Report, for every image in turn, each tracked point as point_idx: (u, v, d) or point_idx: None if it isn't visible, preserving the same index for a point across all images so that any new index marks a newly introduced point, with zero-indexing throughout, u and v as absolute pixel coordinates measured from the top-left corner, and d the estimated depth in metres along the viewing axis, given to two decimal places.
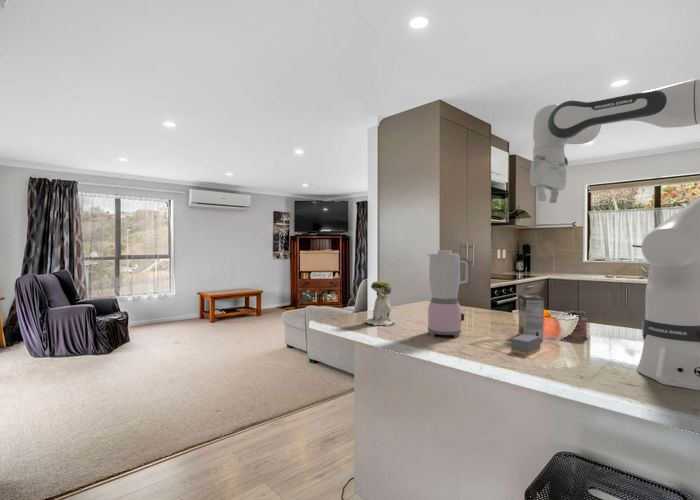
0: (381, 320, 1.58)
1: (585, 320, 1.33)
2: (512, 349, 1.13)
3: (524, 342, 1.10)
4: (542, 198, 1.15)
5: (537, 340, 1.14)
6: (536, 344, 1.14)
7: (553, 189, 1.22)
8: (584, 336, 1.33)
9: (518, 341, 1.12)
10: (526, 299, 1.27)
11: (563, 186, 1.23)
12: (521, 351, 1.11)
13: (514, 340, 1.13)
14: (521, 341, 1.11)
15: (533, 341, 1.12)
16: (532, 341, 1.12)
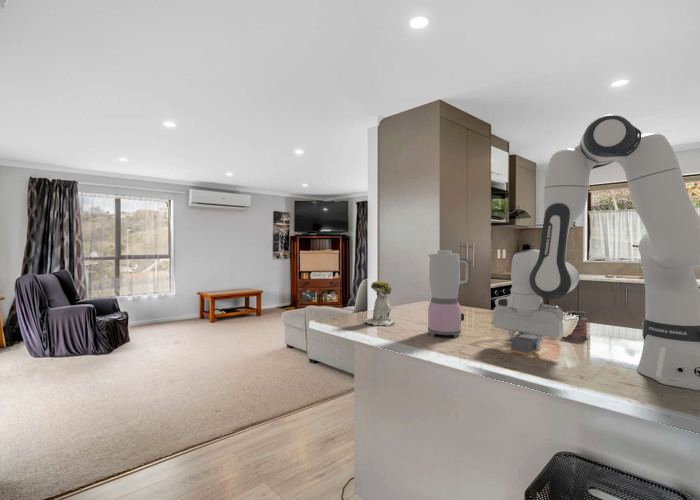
0: (381, 320, 1.58)
1: (585, 320, 1.33)
2: (512, 349, 1.13)
3: (524, 342, 1.10)
4: (539, 347, 1.12)
5: (537, 340, 1.14)
6: None
7: None
8: (584, 336, 1.33)
9: (518, 341, 1.12)
10: None
11: None
12: (521, 351, 1.11)
13: (514, 340, 1.13)
14: (521, 341, 1.11)
15: (533, 341, 1.12)
16: (532, 341, 1.12)
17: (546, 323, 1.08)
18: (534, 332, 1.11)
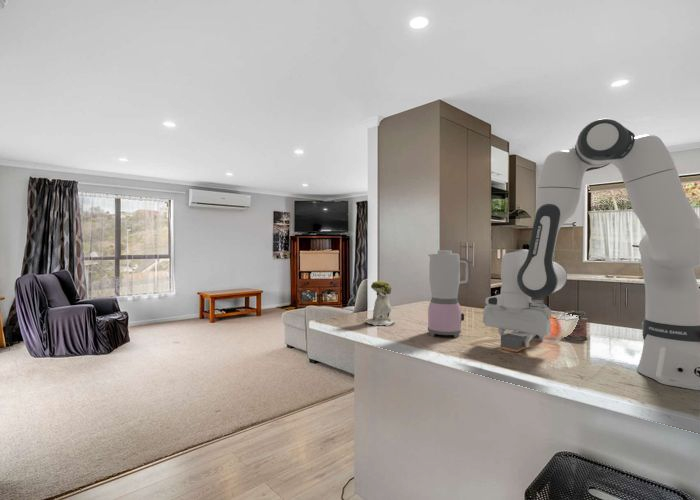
0: (381, 320, 1.58)
1: (585, 320, 1.33)
2: (501, 346, 1.16)
3: (513, 339, 1.13)
4: (528, 344, 1.14)
5: (526, 337, 1.17)
6: None
7: None
8: (584, 336, 1.33)
9: (507, 338, 1.14)
10: None
11: None
12: (510, 348, 1.14)
13: (503, 337, 1.15)
14: (510, 338, 1.14)
15: (522, 338, 1.15)
16: (521, 338, 1.14)
17: (534, 321, 1.11)
18: (523, 330, 1.13)
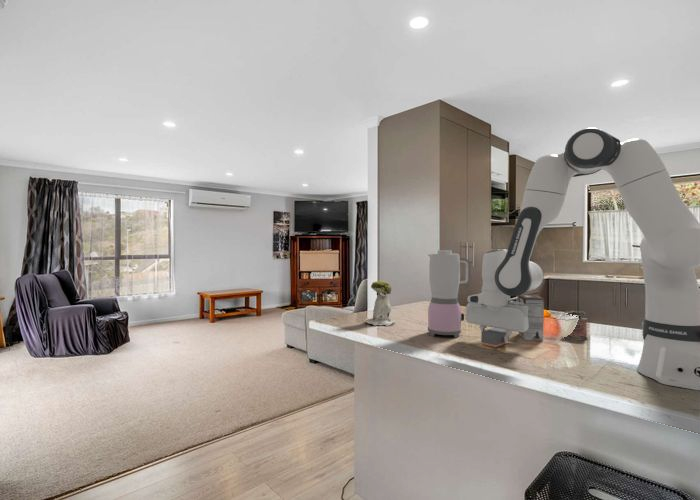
0: (381, 320, 1.58)
1: (585, 320, 1.33)
2: (482, 342, 1.21)
3: (493, 335, 1.18)
4: (507, 341, 1.19)
5: None
6: None
7: None
8: (584, 336, 1.33)
9: (487, 334, 1.19)
10: (526, 299, 1.27)
11: None
12: (490, 343, 1.18)
13: (484, 333, 1.20)
14: (490, 334, 1.18)
15: (501, 334, 1.20)
16: (500, 334, 1.19)
17: (512, 318, 1.16)
18: (502, 327, 1.18)
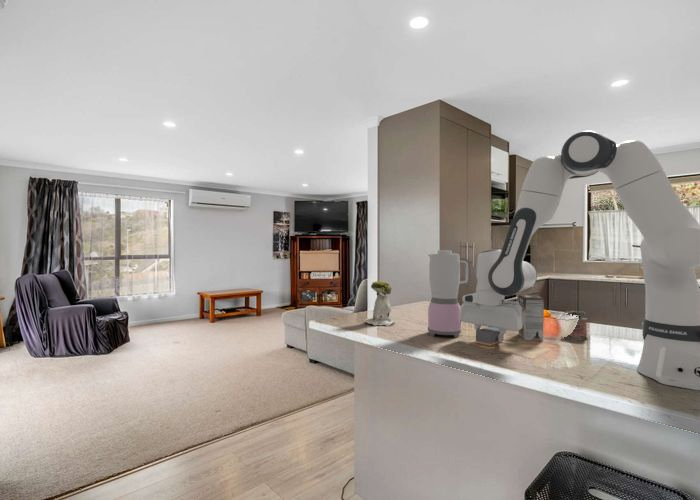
0: (381, 320, 1.58)
1: (585, 320, 1.33)
2: (476, 340, 1.22)
3: (487, 334, 1.19)
4: (501, 340, 1.21)
5: (500, 332, 1.23)
6: None
7: (479, 324, 1.26)
8: (584, 336, 1.33)
9: (482, 333, 1.21)
10: (526, 299, 1.27)
11: None
12: (484, 342, 1.20)
13: (478, 332, 1.22)
14: (484, 333, 1.20)
15: (496, 333, 1.21)
16: (494, 333, 1.21)
17: (506, 318, 1.17)
18: (496, 326, 1.20)
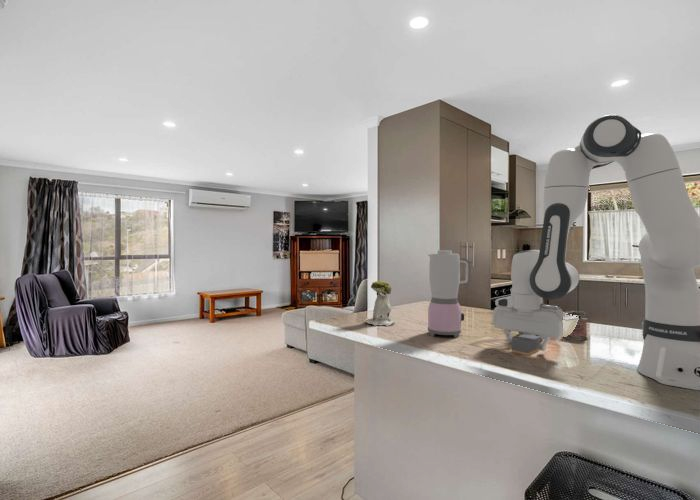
0: (381, 320, 1.58)
1: (585, 320, 1.33)
2: (512, 349, 1.13)
3: (524, 342, 1.10)
4: (545, 348, 1.11)
5: (537, 340, 1.14)
6: (536, 344, 1.14)
7: (509, 329, 1.18)
8: (584, 336, 1.33)
9: (518, 341, 1.12)
10: None
11: None
12: (521, 351, 1.11)
13: (514, 340, 1.13)
14: (521, 341, 1.11)
15: (533, 341, 1.12)
16: (532, 341, 1.12)
17: (546, 323, 1.08)
18: (534, 332, 1.11)
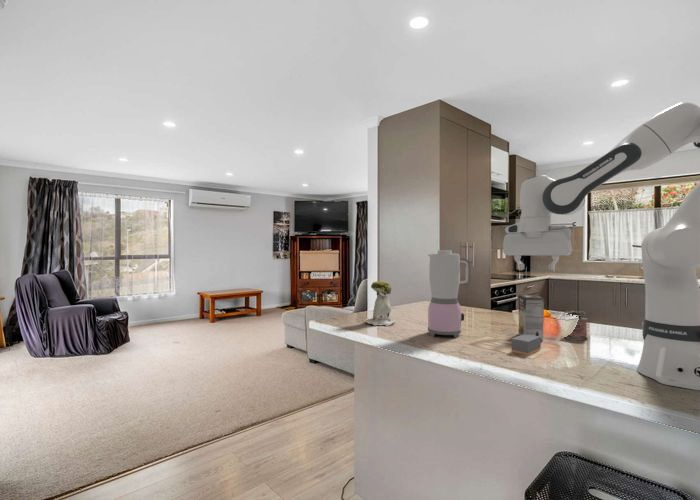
0: (381, 320, 1.58)
1: (585, 320, 1.33)
2: (512, 349, 1.13)
3: (524, 342, 1.10)
4: (554, 267, 1.17)
5: (537, 340, 1.14)
6: (536, 344, 1.14)
7: (519, 255, 1.24)
8: (584, 336, 1.33)
9: (518, 341, 1.12)
10: (526, 299, 1.27)
11: None
12: (521, 351, 1.11)
13: (514, 340, 1.13)
14: (521, 341, 1.11)
15: (533, 341, 1.12)
16: (532, 341, 1.12)
17: (555, 243, 1.14)
18: (544, 253, 1.17)
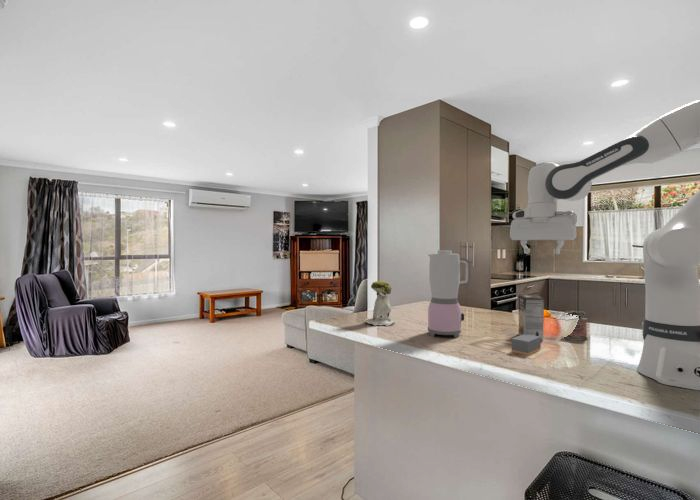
0: (381, 320, 1.58)
1: (585, 320, 1.33)
2: (512, 349, 1.13)
3: (524, 342, 1.10)
4: (559, 252, 1.20)
5: (537, 340, 1.14)
6: (536, 344, 1.14)
7: (525, 240, 1.28)
8: (584, 336, 1.33)
9: (518, 341, 1.12)
10: (526, 299, 1.27)
11: None
12: (521, 351, 1.11)
13: (514, 340, 1.13)
14: (521, 341, 1.11)
15: (533, 341, 1.12)
16: (532, 341, 1.12)
17: (561, 227, 1.18)
18: (549, 237, 1.21)
